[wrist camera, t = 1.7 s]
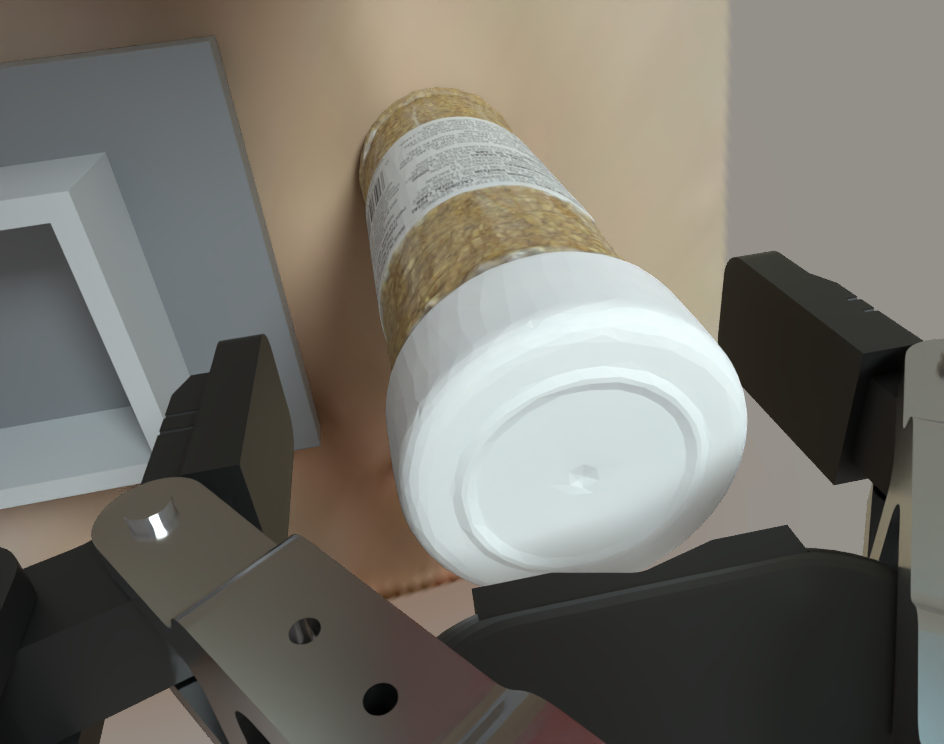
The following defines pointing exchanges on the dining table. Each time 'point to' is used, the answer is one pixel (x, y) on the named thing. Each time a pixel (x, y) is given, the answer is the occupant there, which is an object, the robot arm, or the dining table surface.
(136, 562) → the robot arm
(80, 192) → the bottle stand
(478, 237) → the sprinkles bottle
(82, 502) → the dining table surface
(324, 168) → the dining table surface
